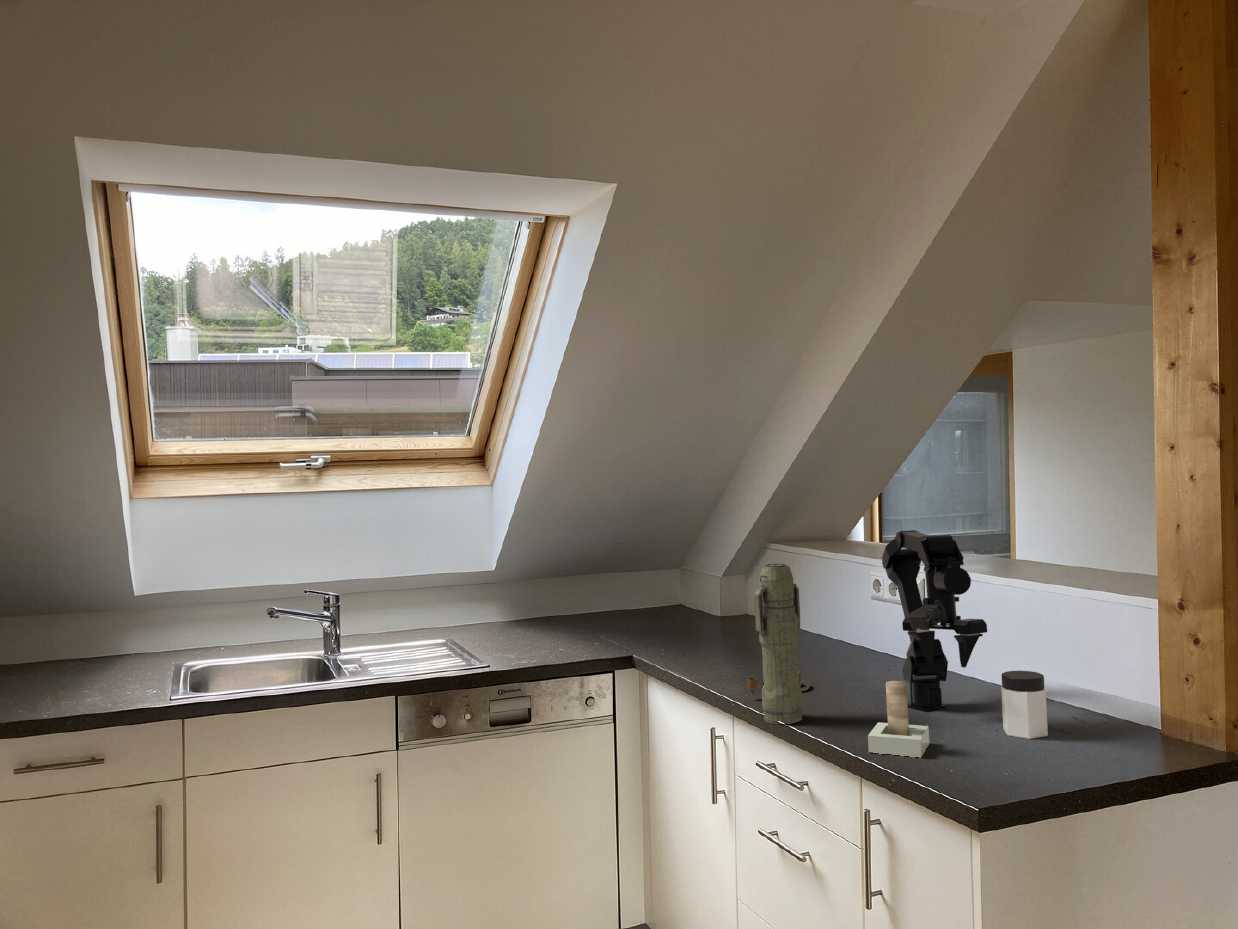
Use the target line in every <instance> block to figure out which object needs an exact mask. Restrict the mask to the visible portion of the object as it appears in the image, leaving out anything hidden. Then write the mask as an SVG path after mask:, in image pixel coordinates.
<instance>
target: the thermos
mask: <svg viewBox="0 0 1238 929" xmlns="http://www.w3.org/2000/svg"><path fill="white" fill-rule="evenodd" d="M758 580H759V581H758V582H759V587H758V588H756V589H755V592H754V594H753V599H754V617H755V618H754V620H755V631H756V632H757V633H758V634H759V635H758V637H759V638H758V639H759V644H760V645H761V651H762V652H761V654H762V672H763V673H762V674H763V675H762V676H763V682H764V684H763V687H762V688H761V703H762V704H761V705H762V710H763V721H764V722H765V723H767V724H771V725H776V726H777V723H778V721H785V720H793V719H798V718H802V717H803V707H804V706H803V692H802V689H801V688H802V687H801V685H800V684H799V671H800V670H799V655H798V654H799V653H798V645H799V642H800V635H799V634H800V631H799V629H801V608H800V607H801V606H800V605H801V604H800V588H799V587H798V585H797V583H794V576H793V572H792V571H791V568H790V565H787V564H786V563H769V564H765V565H764V566H762V568H761V570H760V573H759V577H758ZM776 722H777V723H776Z"/></svg>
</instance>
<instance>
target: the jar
mask: <svg viewBox="0 0 1238 929" xmlns="http://www.w3.org/2000/svg"><path fill="white" fill-rule="evenodd" d="M1000 676H1001V685H1000V687H1001V688H1000V690H1001V707H1002V708H1001V709H1002V724H1003V726H1002V728H1003V730H1004V733H1005V734H1006V735H1007V736H1009V737H1016V738H1022V739H1029V740H1031V739H1037V738H1044V737H1048V736H1049V731H1048V730H1049V729H1048V728H1049V727H1048V709H1047V690H1046V689H1045V676H1044V674H1043V673H1040V672H1037V671H1031V670H1010V671H1004V672H1002V673H1001V675H1000Z"/></svg>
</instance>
